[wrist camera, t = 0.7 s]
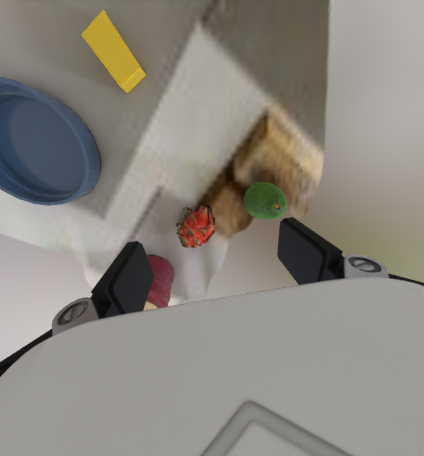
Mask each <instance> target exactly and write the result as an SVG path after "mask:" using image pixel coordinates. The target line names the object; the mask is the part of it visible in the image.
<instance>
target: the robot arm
mask: <svg viewBox="0 0 424 456" xmlns="http://www.w3.org/2000/svg"><path fill="white" fill-rule="evenodd" d="M277 254H278V258H279V260H280V261H281V262H282V263H283V265H284V266H285V267H286V269H287V270H288V271H289V273H290V274H291V275H292V276H293V278H294V279H295V280H296V282H297V283H298V284H299V285H296V286H290V287H283V288H277V289H271V290H266V291H258V292H252V293H246V294H240V295H234V296H229V297H222V298H216V299H210V300H204V301H198V302H192V303H186V304H180V305H174V306H169V307H163V308H157V309H151V310H145V311H143V310H144V307H145V304H146V301H147V298H148V295H149V292H150V289H151V286H152V283H153V280H154V273H153V271H152V268H151V266H150V263H149V261H148V258H147V255H146V253H145V250H144V248H143V245H142V243H139V242H138V241H135V242H128V243H127V244H126V246H125V247H124V248H123V250H122V251H121V252H120V254H119V255H118V256H117V258H116V259H115V260H114V262H113V263H112V264H111V266H110V267H109V268H108V270H107V271H106V272H105V274H104V275H103V276H102V278H101V279H100V280H99V282H98V283H97V284H96V286H95V287H94V288H93V290H92V291H91V293H92V294H93V295H92V297H91V298H81V299H78V300H76V301H74V302H72V303H70V304H69V305H67V306H65V308H63V309H62V310H61V311H60V312H59V313H58V314H57V315H56V316H55V318H54V319H53V322H52V329H51V330H49V331H48V332H46V333H45V334H43V335H41V336H40V337H38V338H37V339H35V340H34V341H32V342H31V343H29V344H28V345H26V346H25V347H23V348H21V349H20V350H18V351H17V352H16V353H14V354H12V355H11V356H9V357H7V358H6V359H4V360H3V361H1V362H0V456H424V283H422V282H418V281H415V280H411V279H407V278H403V277H399V276H396V275H392V274H388V272H387V269H386V268H385V266H384V265H383V264H382V263H380V262H378V261H377V260H375V259H373V258H370V257H367V256H363V255H348V256H346V257H343V256H342V251H341V250H340V249H338V248H337V247H335V246H334V245H333V244H331V243H330V242H328V241H327V240H325V239H324V238H322V237H321V236H319V235H318V234H316V233H315V232H314V231H312V230H311V229H309V228H308V227H306V226H305V225H303V224H302V223H300V222H299V221H298V220H296V219H295V218H293V217H291V218H285V219H283V220H282V221H281V222H280V229H279V242H278V253H277Z"/></svg>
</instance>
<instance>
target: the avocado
mask: <svg viewBox="0 0 424 456" xmlns="http://www.w3.org/2000/svg"><path fill="white" fill-rule="evenodd" d="M244 206H245V208H246V210H247V211H248V212H249V213H250V214H251V215H252V216H254V217H256V218H259V219H266V220H267V219H277V218H279V217H281V216H282V214H283V213H284V212H285V210H286V208H287V201H286V198H285V196H284V194H283V193H282V191H281V189H280V188H278V187H277V186H275V185H273V184H271V183H267V182H259V183H256V184H253V185H252V186H250V188H249V189H248V190H247V191H246V194H245V196H244Z"/></svg>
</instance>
